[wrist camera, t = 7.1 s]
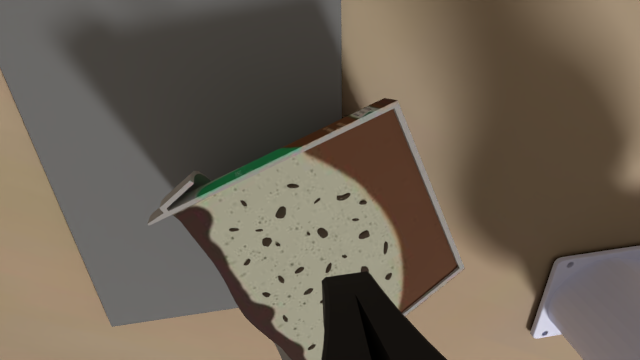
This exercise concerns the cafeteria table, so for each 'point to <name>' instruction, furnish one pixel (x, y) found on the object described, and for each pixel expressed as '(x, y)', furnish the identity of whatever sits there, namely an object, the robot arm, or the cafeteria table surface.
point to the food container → (321, 224)
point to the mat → (162, 121)
